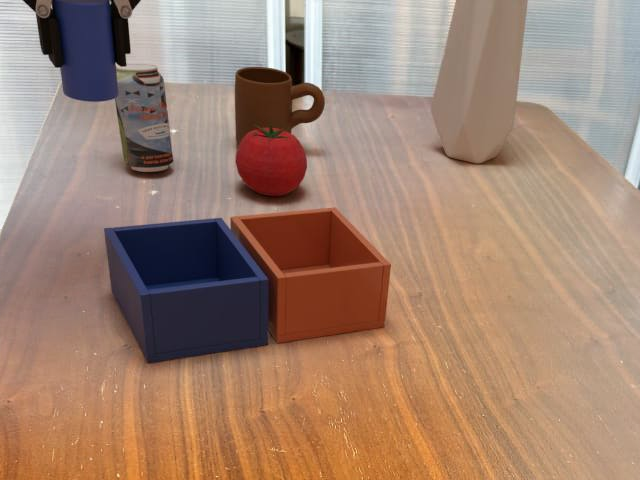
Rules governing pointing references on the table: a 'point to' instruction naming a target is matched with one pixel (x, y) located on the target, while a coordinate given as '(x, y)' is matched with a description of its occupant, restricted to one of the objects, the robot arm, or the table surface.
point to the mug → (271, 101)
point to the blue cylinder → (87, 49)
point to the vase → (479, 78)
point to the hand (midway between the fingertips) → (87, 60)
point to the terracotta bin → (316, 272)
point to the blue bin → (187, 288)
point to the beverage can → (143, 118)
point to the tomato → (271, 161)
